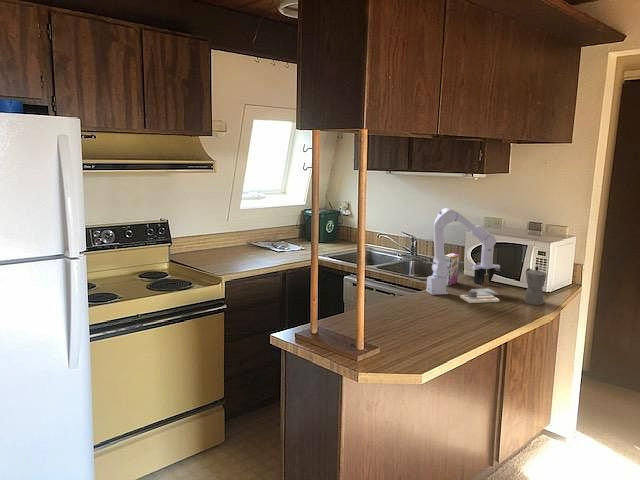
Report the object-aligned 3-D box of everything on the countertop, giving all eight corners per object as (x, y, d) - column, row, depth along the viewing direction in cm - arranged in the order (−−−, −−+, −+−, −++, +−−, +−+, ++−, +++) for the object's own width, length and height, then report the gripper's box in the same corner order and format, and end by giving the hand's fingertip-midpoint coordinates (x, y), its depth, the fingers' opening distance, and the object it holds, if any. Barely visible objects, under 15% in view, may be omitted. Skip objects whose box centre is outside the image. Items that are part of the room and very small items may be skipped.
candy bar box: (449, 286, 284) (451, 257, 281) (440, 284, 287) (442, 255, 284) (457, 282, 293) (459, 254, 290) (449, 281, 296) (451, 252, 293)
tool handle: (483, 287, 270) (484, 275, 269) (480, 285, 273) (480, 274, 272) (489, 286, 271) (490, 275, 270) (486, 285, 274) (487, 274, 273)
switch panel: (469, 303, 254) (469, 299, 253) (459, 297, 263) (460, 293, 263) (499, 301, 257) (499, 298, 257) (488, 296, 267) (488, 292, 266)
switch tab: (470, 298, 257) (471, 292, 257) (468, 296, 260) (468, 290, 260) (476, 297, 258) (476, 291, 257) (473, 296, 261) (473, 290, 260)
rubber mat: (480, 295, 267) (480, 294, 267) (470, 290, 276) (471, 289, 276) (498, 295, 269) (498, 293, 269) (488, 289, 279) (488, 288, 278)
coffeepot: (550, 306, 252) (553, 269, 248) (531, 306, 250) (535, 269, 247) (533, 297, 267) (536, 262, 263) (515, 297, 265) (518, 262, 262)
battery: (488, 284, 291) (489, 264, 289) (484, 285, 288) (486, 265, 286) (476, 281, 296) (478, 262, 294) (473, 282, 293) (474, 262, 291)
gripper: (478, 259, 264) (476, 285, 266) (504, 258, 267) (501, 284, 269) (471, 256, 271) (469, 281, 273) (496, 255, 274) (494, 280, 276)
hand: (485, 282), depth 272 cm, fingers closed on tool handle, 4 cm apart
